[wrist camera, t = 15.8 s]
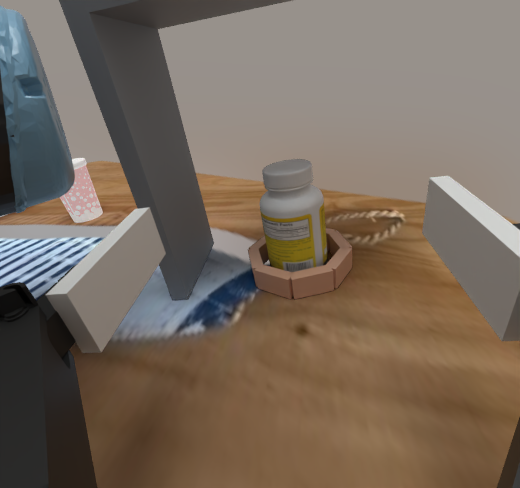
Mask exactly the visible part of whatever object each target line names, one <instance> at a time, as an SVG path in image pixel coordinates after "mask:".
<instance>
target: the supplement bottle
mask: <svg viewBox="0 0 520 488" xmlns="http://www.w3.org/2000/svg"><path fill="white" fill-rule="evenodd" d="M263 179H264V185H265V188H266V189H267V190H268V191H267V192H266V193H265V194H264V195H263V196H262V198H261V200H260V211H261V217H262V222H263V228H264V233H265V239H266V244H267V250H268V255H269V261H270V266H271V267H274V268H277V269H281V270H285V271H288V272H296V271H300V270H305V269H309V268H314V267H318V266H323V265H326V264H327V263H328V256H327V242H326V227H325V213H324V201H323V195H322V192H321V191H320V190H319V189H318V188H317V187H315V186H313V185H311V183H312V181H313V172H312V164H311V162H310V161H308V160H302V159H294V160H284V161H280V162H276V163H272V164H270V165H268V166H266V167H265V168H264V169H263Z"/></svg>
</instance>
